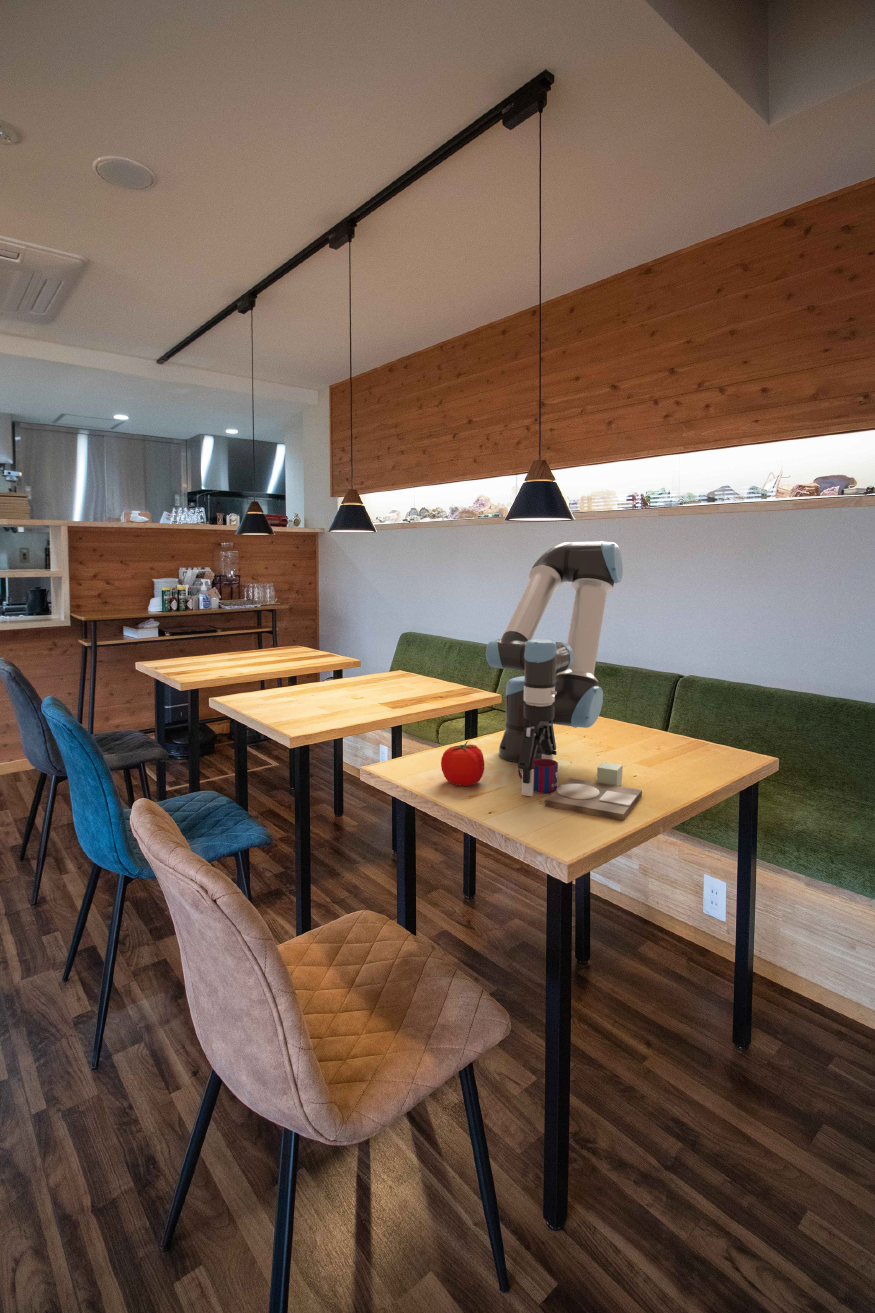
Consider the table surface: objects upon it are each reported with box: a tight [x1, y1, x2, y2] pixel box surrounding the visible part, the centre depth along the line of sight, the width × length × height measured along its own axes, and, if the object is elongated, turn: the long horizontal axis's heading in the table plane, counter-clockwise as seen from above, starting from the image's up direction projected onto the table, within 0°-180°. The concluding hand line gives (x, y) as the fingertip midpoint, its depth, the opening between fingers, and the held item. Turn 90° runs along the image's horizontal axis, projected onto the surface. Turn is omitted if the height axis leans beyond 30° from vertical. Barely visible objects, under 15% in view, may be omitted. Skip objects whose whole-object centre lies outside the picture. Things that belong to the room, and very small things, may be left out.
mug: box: [517, 759, 559, 794], centre depth 167 cm, size 7×10×7 cm
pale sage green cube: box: [596, 761, 623, 786], centre depth 170 cm, size 5×5×5 cm
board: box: [544, 777, 643, 822], centre depth 159 cm, size 18×18×2 cm
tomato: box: [440, 740, 485, 787], centre depth 171 cm, size 11×13×10 cm
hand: (537, 787), depth 168 cm, fingers open, 12 cm apart
